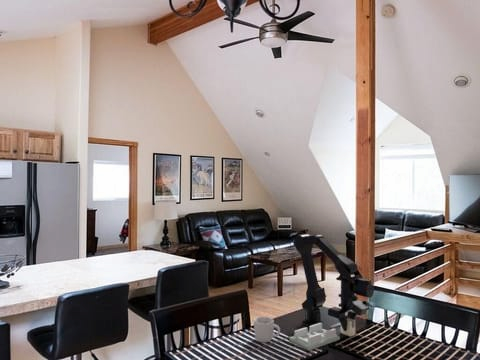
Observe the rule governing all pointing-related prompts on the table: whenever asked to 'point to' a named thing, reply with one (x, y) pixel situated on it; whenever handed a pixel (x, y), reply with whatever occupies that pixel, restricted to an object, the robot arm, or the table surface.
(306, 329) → the board
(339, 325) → the lead
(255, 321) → the cup
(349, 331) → the plug
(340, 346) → the table surface
